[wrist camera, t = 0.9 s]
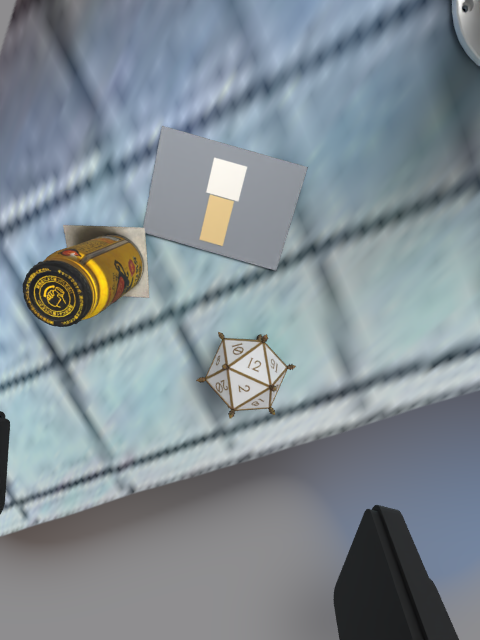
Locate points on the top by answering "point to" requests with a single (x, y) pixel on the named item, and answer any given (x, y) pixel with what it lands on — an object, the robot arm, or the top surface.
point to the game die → (246, 374)
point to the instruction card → (222, 198)
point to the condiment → (88, 274)
